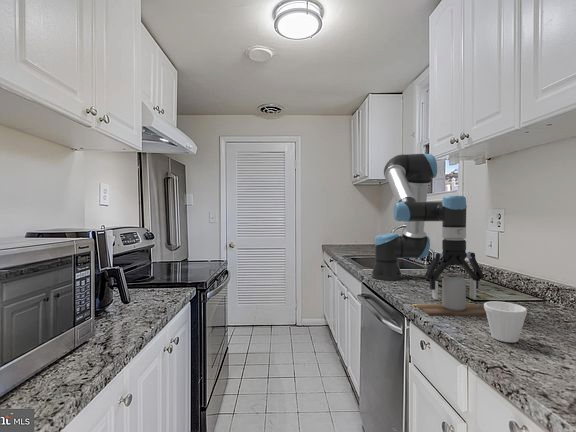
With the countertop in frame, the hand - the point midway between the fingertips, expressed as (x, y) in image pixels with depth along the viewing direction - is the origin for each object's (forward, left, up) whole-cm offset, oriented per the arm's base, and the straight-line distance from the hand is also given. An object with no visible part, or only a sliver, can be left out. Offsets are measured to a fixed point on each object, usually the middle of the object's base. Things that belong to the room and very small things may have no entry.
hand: (453, 298), depth 113 cm
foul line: (-7, 0, -4) cm, 8 cm away
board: (0, 0, -4) cm, 5 cm away
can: (0, 0, -4) cm, 4 cm away
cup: (+24, +1, -5) cm, 25 cm away
